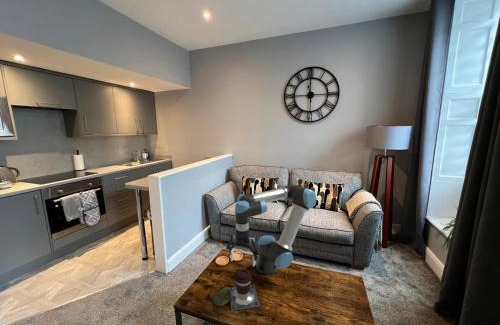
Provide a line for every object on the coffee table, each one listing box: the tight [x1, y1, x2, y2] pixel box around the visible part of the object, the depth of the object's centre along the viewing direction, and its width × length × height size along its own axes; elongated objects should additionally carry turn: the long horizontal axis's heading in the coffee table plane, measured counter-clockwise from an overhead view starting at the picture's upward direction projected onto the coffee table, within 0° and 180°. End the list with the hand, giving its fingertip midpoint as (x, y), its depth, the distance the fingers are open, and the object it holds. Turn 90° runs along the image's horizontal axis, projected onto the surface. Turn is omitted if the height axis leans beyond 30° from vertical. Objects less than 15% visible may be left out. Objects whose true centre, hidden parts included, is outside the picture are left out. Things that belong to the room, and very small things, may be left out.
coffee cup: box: [234, 268, 253, 300], centre depth 125 cm, size 10×10×15 cm
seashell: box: [212, 286, 231, 307], centre depth 125 cm, size 10×7×10 cm
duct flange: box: [228, 284, 260, 312], centre depth 126 cm, size 16×16×2 cm
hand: (243, 262), depth 123 cm, fingers open, 13 cm apart
